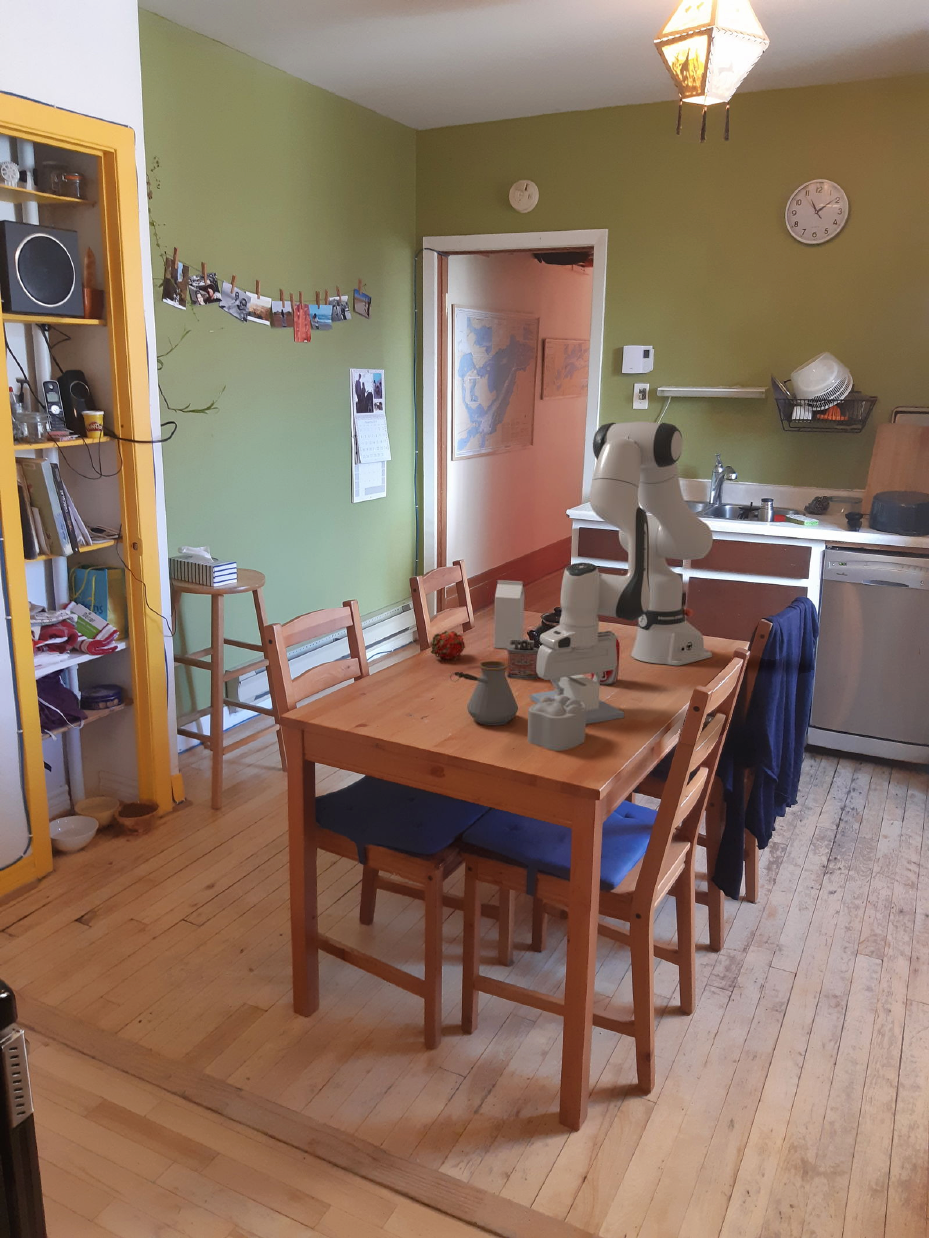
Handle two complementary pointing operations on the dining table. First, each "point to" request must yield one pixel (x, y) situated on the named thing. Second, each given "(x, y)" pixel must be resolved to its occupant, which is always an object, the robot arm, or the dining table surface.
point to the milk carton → (508, 613)
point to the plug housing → (581, 690)
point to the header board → (592, 716)
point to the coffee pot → (491, 695)
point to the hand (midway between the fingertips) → (576, 692)
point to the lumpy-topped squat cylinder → (557, 723)
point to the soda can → (610, 675)
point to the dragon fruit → (447, 645)
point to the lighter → (522, 660)
